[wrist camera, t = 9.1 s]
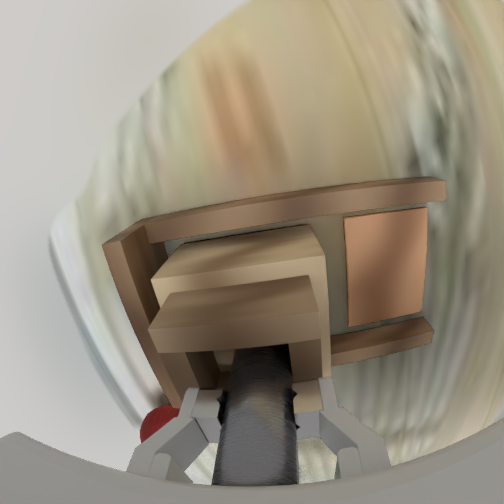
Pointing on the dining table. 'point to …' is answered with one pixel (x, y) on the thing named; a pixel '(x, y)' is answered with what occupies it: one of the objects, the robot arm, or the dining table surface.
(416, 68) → the dining table surface
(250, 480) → the handle peg
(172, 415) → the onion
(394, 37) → the dining table surface
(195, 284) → the crate
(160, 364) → the bay
